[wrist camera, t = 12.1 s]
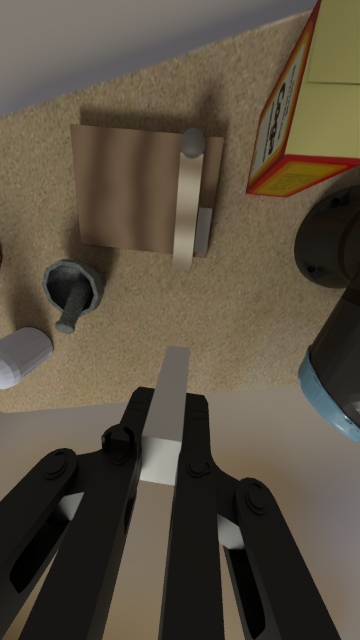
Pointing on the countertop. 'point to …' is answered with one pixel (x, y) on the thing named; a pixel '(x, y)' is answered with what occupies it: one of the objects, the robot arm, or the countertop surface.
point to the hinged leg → (188, 197)
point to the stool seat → (137, 188)
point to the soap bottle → (22, 354)
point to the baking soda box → (312, 107)
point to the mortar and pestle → (72, 291)
